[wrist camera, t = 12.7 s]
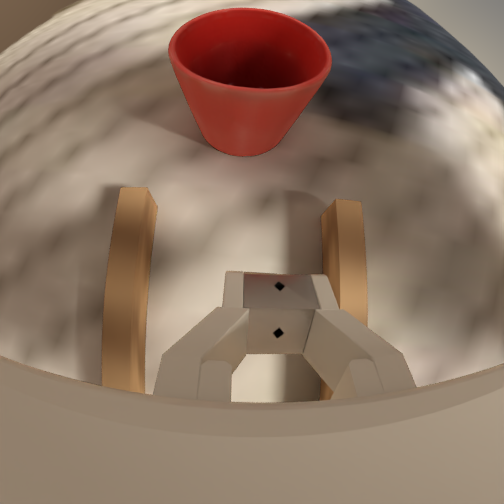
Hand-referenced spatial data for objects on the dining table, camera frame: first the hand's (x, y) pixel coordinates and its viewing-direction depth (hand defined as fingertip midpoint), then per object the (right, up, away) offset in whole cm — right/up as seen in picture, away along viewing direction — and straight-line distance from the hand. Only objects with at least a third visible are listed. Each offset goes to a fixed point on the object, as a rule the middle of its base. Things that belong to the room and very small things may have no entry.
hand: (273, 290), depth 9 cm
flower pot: (-1, +13, +16) cm, 20 cm away
